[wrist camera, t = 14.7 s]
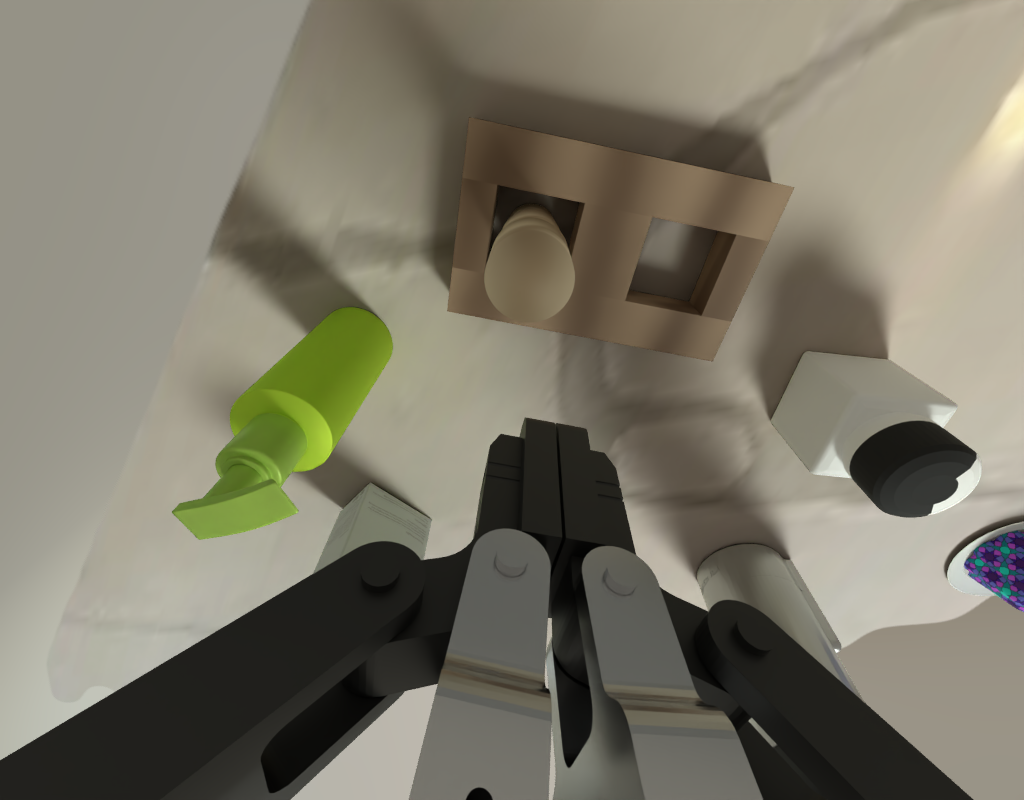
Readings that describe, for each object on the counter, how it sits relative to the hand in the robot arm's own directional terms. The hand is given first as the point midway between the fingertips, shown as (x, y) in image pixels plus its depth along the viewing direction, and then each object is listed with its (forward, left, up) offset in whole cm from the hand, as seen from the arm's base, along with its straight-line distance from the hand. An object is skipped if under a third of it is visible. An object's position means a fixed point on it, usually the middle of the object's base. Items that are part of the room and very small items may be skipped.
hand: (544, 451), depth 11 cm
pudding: (-55, +22, -25) cm, 65 cm away
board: (-5, 0, -25) cm, 25 cm away
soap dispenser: (+12, +11, -25) cm, 30 cm away
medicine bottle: (-27, +8, -25) cm, 37 cm away
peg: (+1, 0, -25) cm, 25 cm away
